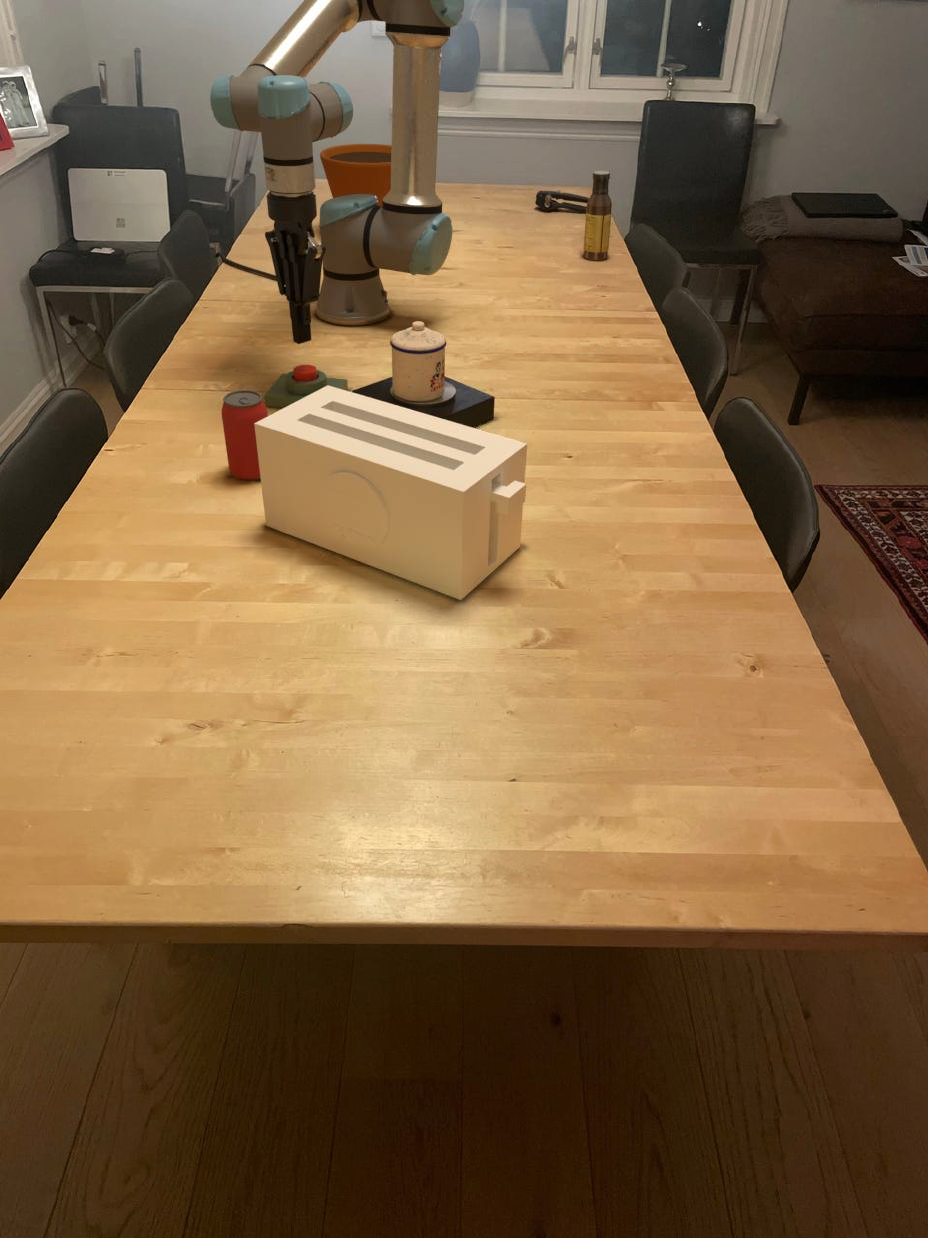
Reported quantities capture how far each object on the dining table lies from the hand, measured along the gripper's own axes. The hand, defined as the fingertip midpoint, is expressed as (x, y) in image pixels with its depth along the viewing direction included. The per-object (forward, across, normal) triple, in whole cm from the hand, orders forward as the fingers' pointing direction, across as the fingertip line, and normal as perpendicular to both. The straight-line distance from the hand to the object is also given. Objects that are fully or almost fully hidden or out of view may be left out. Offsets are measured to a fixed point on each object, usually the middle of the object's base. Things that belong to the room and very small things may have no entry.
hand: (302, 340), depth 162 cm
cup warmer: (+10, +19, +10) cm, 24 cm away
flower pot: (+10, -71, +76) cm, 105 cm away
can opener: (+10, -55, +136) cm, 147 cm away
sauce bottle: (+10, -20, +106) cm, 108 cm away
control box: (+10, 0, 0) cm, 10 cm away
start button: (+7, 0, 0) cm, 7 cm away
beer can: (+11, +16, -23) cm, 30 cm away
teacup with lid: (+6, +18, +10) cm, 22 cm away
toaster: (+11, +46, -20) cm, 51 cm away
